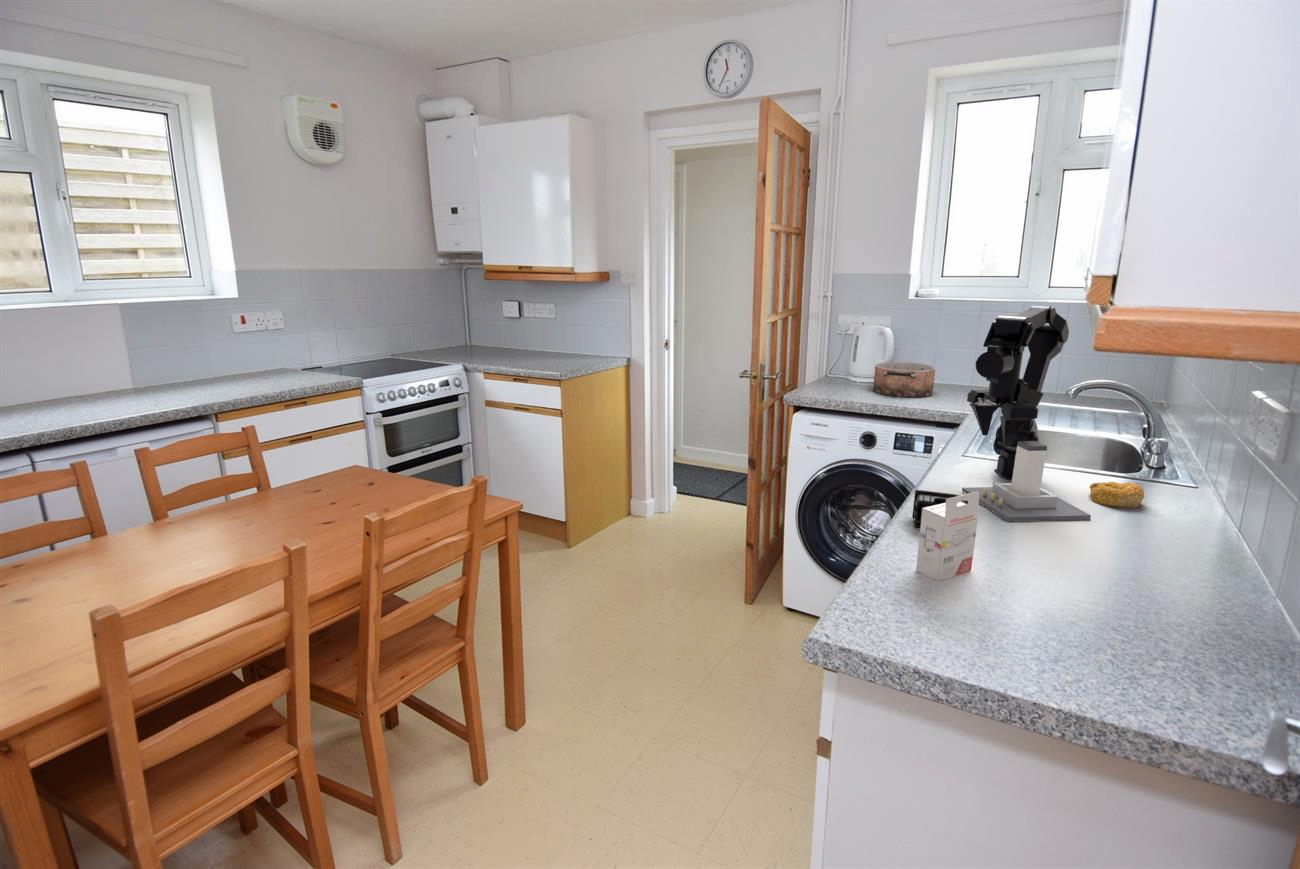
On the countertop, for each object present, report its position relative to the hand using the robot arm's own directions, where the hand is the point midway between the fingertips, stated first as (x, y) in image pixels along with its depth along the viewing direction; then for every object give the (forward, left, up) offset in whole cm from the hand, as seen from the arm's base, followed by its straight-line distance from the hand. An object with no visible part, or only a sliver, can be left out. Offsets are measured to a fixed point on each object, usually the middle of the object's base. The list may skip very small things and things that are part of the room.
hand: (995, 440), depth 153 cm
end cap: (+22, +20, -12) cm, 32 cm away
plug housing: (-2, +10, -11) cm, 15 cm away
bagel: (-24, +8, -12) cm, 28 cm away
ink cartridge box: (+31, +40, -12) cm, 52 cm away
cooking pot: (-29, -114, -12) cm, 118 cm away
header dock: (-2, +10, -12) cm, 16 cm away
